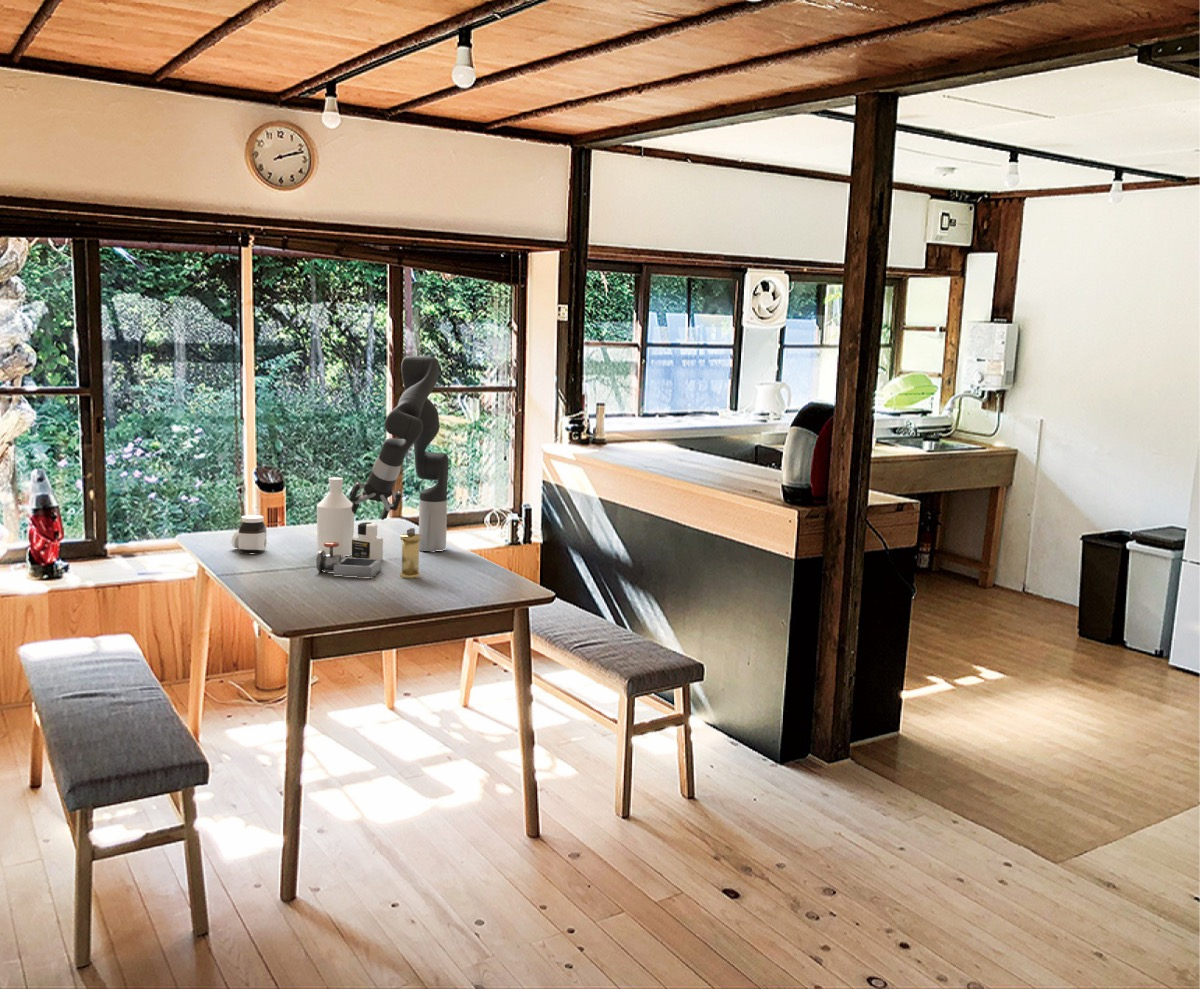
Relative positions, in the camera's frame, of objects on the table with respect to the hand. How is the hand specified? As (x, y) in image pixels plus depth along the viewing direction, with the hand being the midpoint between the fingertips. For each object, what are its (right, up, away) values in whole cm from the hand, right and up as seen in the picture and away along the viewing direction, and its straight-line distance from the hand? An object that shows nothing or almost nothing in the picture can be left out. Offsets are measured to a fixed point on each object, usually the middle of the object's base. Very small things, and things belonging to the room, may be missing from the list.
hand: (368, 515), depth 314 cm
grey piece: (-8, -18, +8) cm, 21 cm away
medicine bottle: (-6, -15, +27) cm, 31 cm away
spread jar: (-46, -13, +32) cm, 57 cm away
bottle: (-18, -14, +33) cm, 40 cm away
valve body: (+11, -19, +7) cm, 23 cm away
